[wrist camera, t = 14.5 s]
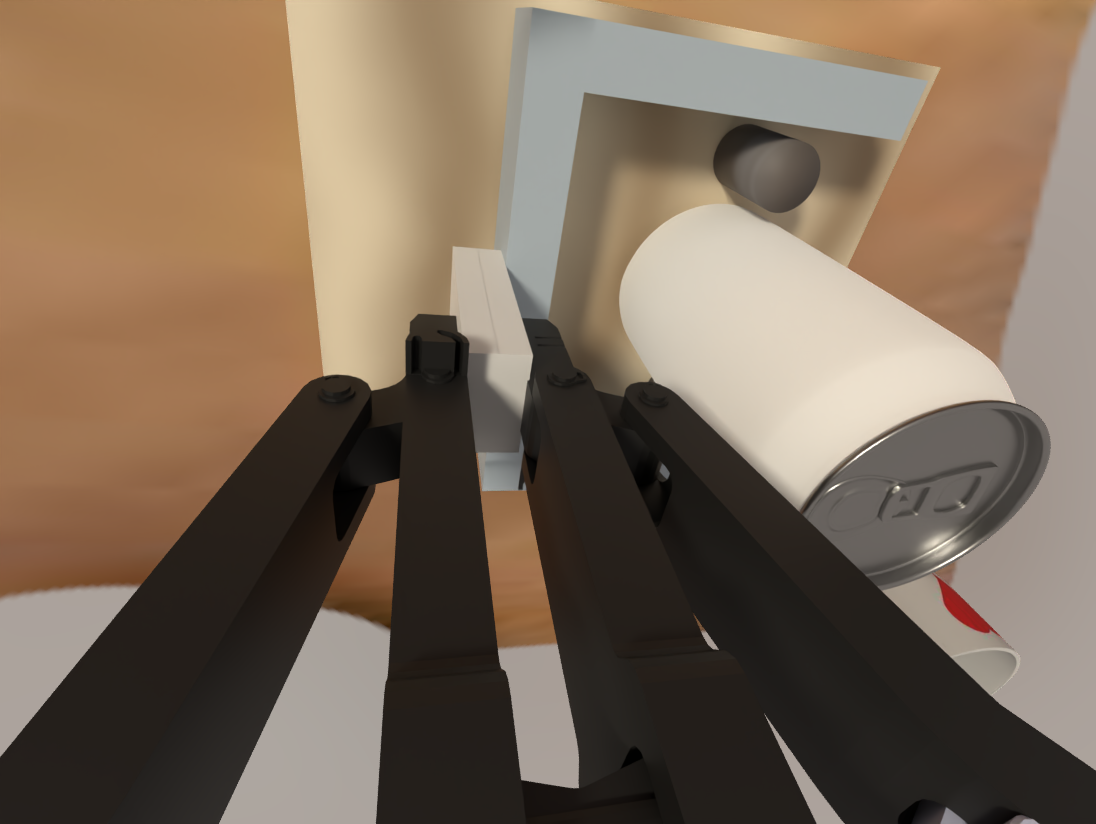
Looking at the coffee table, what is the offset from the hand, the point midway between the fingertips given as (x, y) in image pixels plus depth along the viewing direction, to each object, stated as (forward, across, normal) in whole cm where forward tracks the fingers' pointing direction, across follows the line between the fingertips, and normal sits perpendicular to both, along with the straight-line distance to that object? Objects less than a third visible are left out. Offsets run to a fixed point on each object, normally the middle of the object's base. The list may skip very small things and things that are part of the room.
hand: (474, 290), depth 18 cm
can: (+2, +9, 0) cm, 9 cm away
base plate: (+4, +5, 0) cm, 6 cm away
